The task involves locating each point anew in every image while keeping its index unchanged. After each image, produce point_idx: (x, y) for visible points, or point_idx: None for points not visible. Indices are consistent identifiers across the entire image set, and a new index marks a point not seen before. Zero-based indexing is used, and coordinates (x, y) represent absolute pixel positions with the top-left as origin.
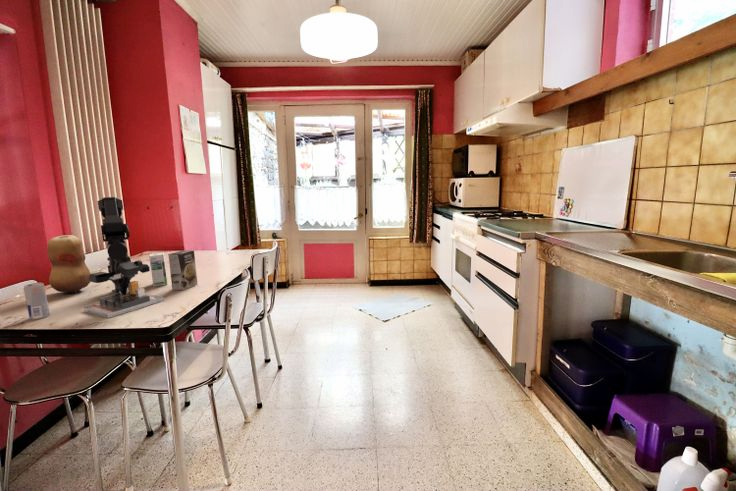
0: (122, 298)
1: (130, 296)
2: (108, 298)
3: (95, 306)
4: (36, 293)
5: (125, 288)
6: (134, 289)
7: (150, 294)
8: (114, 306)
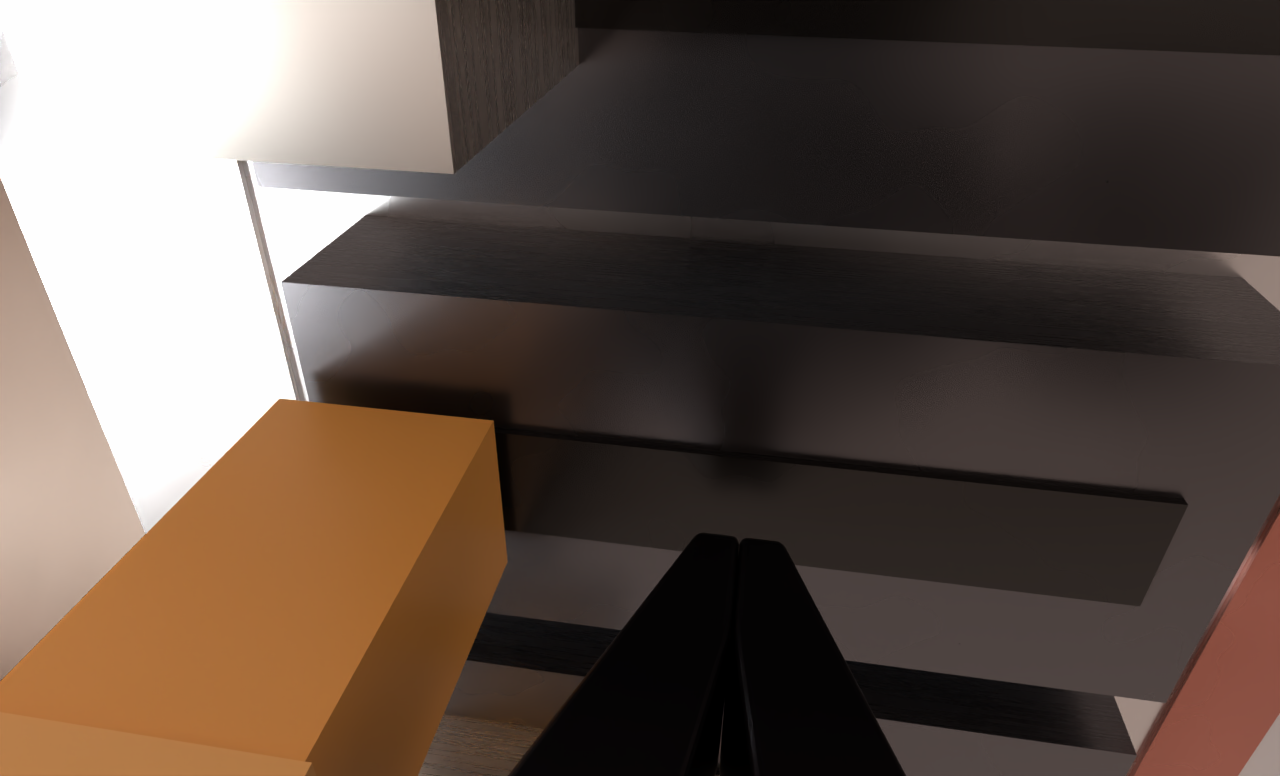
0: (890, 418)
1: (622, 364)
2: (1005, 761)
3: (1261, 723)
4: None
5: (678, 705)
6: (339, 529)
7: (75, 344)
8: (1222, 285)
